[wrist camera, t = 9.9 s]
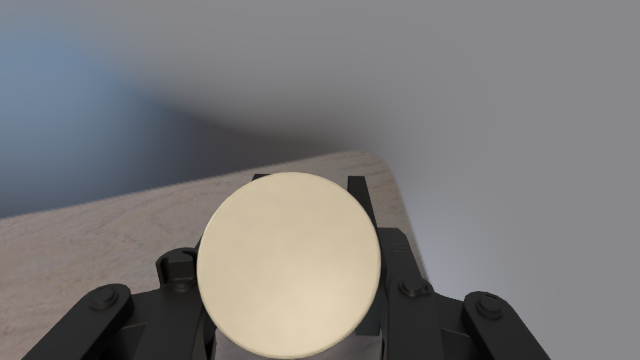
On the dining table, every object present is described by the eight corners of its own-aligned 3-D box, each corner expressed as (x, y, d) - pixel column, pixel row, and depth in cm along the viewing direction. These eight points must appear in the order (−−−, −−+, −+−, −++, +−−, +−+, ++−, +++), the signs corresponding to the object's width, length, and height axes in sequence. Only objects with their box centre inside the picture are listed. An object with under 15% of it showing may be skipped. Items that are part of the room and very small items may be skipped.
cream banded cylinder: (349, 262, 19) (398, 184, 7) (337, 334, 18) (371, 389, 6) (283, 249, 20) (223, 151, 7) (267, 319, 18) (160, 341, 6)
